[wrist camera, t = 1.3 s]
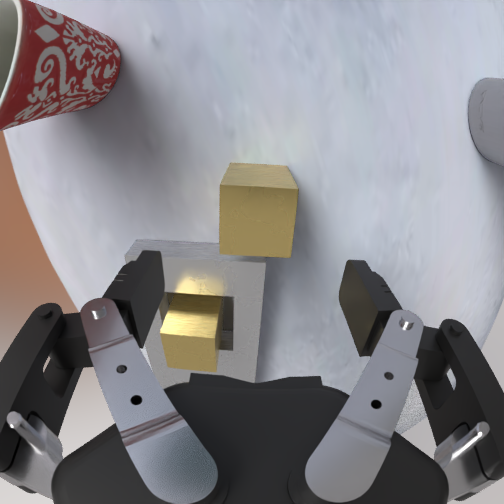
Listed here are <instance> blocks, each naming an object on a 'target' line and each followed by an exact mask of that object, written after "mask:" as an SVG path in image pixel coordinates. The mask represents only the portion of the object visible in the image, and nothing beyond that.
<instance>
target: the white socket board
mask: <svg viewBox="0 0 504 504" xmlns="http://www.w3.org/2000/svg"><path fill="white" fill-rule="evenodd" d="M143 250H155V251H160V252H161V255H162V263H163V271H164V279H165V291H164V295H163V298H162V300H161V303H160V305H159V308H158V310H157V313H156V315H155V318H154V320H153V323H152V325H151V328H150V331H149V333H148V336H147V338H146V341H145V347H146V350H147V354H148V357H149V360H150V364H151V367H152V370H153V373H154V375H155V377H156V379H157V380H158V382H159V384H160V385H161V387H162V389H164V388H167V387H169V386H172V385H175V384H179V383H184V382H189V379H190V374H191V373H200V374H213V375H224V376H228V377H231V378H235V379H239V380H243V381H247V382H252V383H255V376H256V366H257V356H258V346H259V336H260V325H261V314H262V304H263V292H264V281H265V270H266V257H263V256H243V255H223V254H220V251H219V244H218V243H197V242H176V241H153V240H136V241H135V242H134V244H133V245H132V246H131V247H130V249H129V250H128V251H127V253H126V254H125V261H126V264H127V263H129V262H130V261H131V260H132V261H136V259H137V258H138V256H139V255H140V253H141V252H142V251H143ZM167 292H174V293H187V294H201V295H216V296H233V297H234V326H233V331H230V330H222V335H221V343H220V350H219V358H218V366H217V372H205V371H195V370H185V369H177V368H169V367H168V366H167V362H166V358H165V354H164V350H163V345H162V341H161V336H160V331H161V328H162V325H163V323H164V320H165V317H166V315H167V312H168V309H169V301H168V294H167Z"/></svg>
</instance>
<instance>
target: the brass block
mask: <svg viewBox="0 0 504 504" xmlns="http://www.w3.org/2000/svg"><path fill="white" fill-rule="evenodd" d="M298 191H299V189H298V187H297V185H296V183H295V181H294V179H293V177H292V175H291V173H290V171H289V169H288V168H287V166H282V165H267V164H248V163H230V165H229V167H228V169H227V171H226V173H225V175H224V177H223V179H222V181H221V184H220V224H219V251H220V254H223V255H243V256H263V257H283V258H291V251H292V243H293V235H294V227H295V218H296V209H297V201H298Z"/></svg>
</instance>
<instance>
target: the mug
mask: <svg viewBox="0 0 504 504" xmlns="http://www.w3.org/2000/svg"><path fill="white" fill-rule="evenodd" d="M120 61H121V59H120V52H119V49H118V46H117V45H116V43H115V42H114V41H113V40H112V39H111V38H110V37H108V36H107V35H105V34H103V33H101V32H98V31H96V30H94V29H92V28H90V27H88V26H86V25H84V24H82V23H80V22H78V21H76V20H74V19H71V18H69V17H67V16H65V15H63V14H60V13H58V12H56V11H54V10H51V9H49V8H46V7H44V6H41V5H39V4H36V3H33V2H31V1H28V0H0V131H2V130H5V129H8V128H11V127H14V126H18V125H21V124H24V123H27V122H30V121H34V120H38V119H42V118H46V117H50V116H54V115H58V114H62V113H66V112H71V111H78V110H82V109H86V108H89V107H91V106H93V105H95V104H97V103H98V102H100V101H101V100H102V99H103V98H104V97H105V96H106V95H107V94H108V93H109V92H110V90H111V89H112V87H113V86H114V84H115V82H116V79H117V77H118V74H119V70H120Z"/></svg>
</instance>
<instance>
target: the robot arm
mask: <svg viewBox="0 0 504 504" xmlns="http://www.w3.org/2000/svg"><path fill="white" fill-rule="evenodd" d="M468 117H469V126H470V130H471V134H472V137H473V140H474V143H475V145H476V147H477V148H478V150H479V152H480V153H481V154H482V155H483V156H484V157H485V158H486V159H487V160H489V161H491V162H494V163H496V164H498V165H501V166H503V167H504V79H499V78H485V79H482V80H480V81H479V82H478V83H477V84H476V85H475V87H474V89H473V90H472V93H471V96H470V101H469V109H468ZM164 291H165V279H164V271H163V263H162V255H161V252H160V251H155V250H143V251H142V252H141V253H140V255H139V256H138V258H137V259H136V261H132V260H131V261H130V262H129V263H127V264H126V265H124V266H123V267H122V268H121V270H120V271H119V273H118V275H117V276H116V277H115V279H114V280H113V282H112V283H111V285H110V286H109V288H108V289H107V291H106V292H105V294H104V295H103V297H102V298H97V299H93V300H91V301H89V302H87V303H86V304H85V305H84V306H83V307H82V309H81V311H80V312H79V313H71V314H63V312H62V309H61V307H60V306H59V305H58V304H56V303H46V304H43V305H41V306H39V307H38V308H36V309H35V310H34V311H33V312H32V314H31V315H30V317H29V318H28V320H27V321H26V323H25V324H24V326H23V327H22V329H21V330H20V332H19V333H18V334H17V336H16V338H15V339H14V341H13V342H12V344H11V345H10V347H9V349H8V350H7V352H6V354H5V355H4V357H3V359H2V360H1V362H0V477H1V478H3V479H4V480H6V481H8V482H9V483H11V484H13V485H16V486H17V487H19V488H21V489H23V490H24V491H26V492H28V493H39V494H41V495H43V496H45V497H48V498H50V499H52V500H53V501H54V504H447V502H449V501H451V500H458V501H462V500H465V499H467V498H469V497H471V496H473V495H475V494H476V493H478V492H480V491H482V490H483V489H485V488H487V487H488V486H490V485H491V484H493V483H495V482H496V481H498V480H499V479H501V478H502V477H504V393H503V390H502V388H501V387H500V385H499V383H498V381H497V379H496V377H495V375H494V373H493V372H492V370H491V368H490V366H489V364H488V362H487V361H486V359H485V357H484V356H483V354H482V352H481V350H480V349H479V347H478V345H477V344H476V342H475V341H474V339H473V337H472V336H471V334H470V333H469V331H468V329H467V328H466V327H465V326H464V325H463V324H462V323H460V322H458V321H456V320H453V319H446V320H444V321H443V322H442V323H441V325H440V327H439V329H437V328H432V327H426V326H423V322H422V320H421V319H420V318H419V317H418V316H417V315H416V314H414V313H412V312H410V311H407V310H403V309H402V307H401V306H400V304H399V302H398V301H397V299H396V298H395V296H394V294H393V293H391V290H390V288H389V287H388V285H387V284H386V282H385V280H384V279H383V278H382V277H381V276H380V275H378V274H377V273H376V272H372V271H371V269H370V267H369V266H368V264H367V263H366V261H364V260H348V261H347V263H346V266H345V270H344V274H343V278H342V282H341V286H340V290H339V302H340V305H341V307H342V310H343V313H344V315H345V318H346V321H347V323H348V326H349V329H350V331H351V334H352V337H353V339H354V342H355V345H356V348H357V351H358V353H359V356H360V357H361V356H370V357H371V358H370V360H369V362H368V364H367V366H366V368H365V370H364V371H363V373H362V375H361V377H360V379H359V381H358V383H357V384H356V386H355V388H354V390H353V391H352V393H351V395H350V396H349V395H348V394H346V393H344V392H342V391H340V390H338V389H335V388H332V387H328V386H324V385H322V381H321V376H308V377H287V378H282V379H278V380H273V381H268V382H263V383H252V382H247V381H243V380H239V379H235V378H231V377H228V376H224V375H213V374H200V373H191V374H190V379H189V382H184V383H179V384H175V385H172V386H169V387H167V388H164V389H162V387H161V385H160V384H159V382H158V380H157V379H156V377H155V375H154V373H153V372H152V370H151V368H150V366H149V365H148V363H147V361H146V359H145V357H144V355H143V354H142V352H141V350H140V348H142V349H143V346H144V344H145V341H146V338H147V336H148V333H149V331H150V328H151V325H152V323H153V320H154V318H155V315H156V313H157V310H158V308H159V305H160V303H161V300H162V298H163V295H164ZM48 356H49V357H50V358H51V359H50V361H49V363H48V365H47V367H46V369H45V371H44V373H43V367H44V364H45V362H46V360H47V358H48ZM84 367H94V369H95V372H96V375H97V378H98V381H99V383H100V386H101V389H102V392H103V394H104V397H105V399H106V402H107V404H108V407H109V409H110V411H111V414H112V416H113V419H114V421H115V424H113V425H112V426H110V427H109V428H108V429H106V430H105V431H103V432H102V433H100V434H99V435H97V436H96V437H95V438H93V439H92V440H90V441H89V442H87V443H86V444H84V445H83V446H81V447H80V448H78V449H77V450H76V451H74V452H72V453H71V454H69V455H68V456H67V457H65V458H64V459H63V456H62V452H63V450H62V444H61V442H60V440H59V438H58V435H59V432H60V429H61V426H62V423H63V420H64V417H65V414H66V411H67V409H68V406H69V403H70V400H71V398H72V395H73V392H74V390H75V387H76V384H77V382H78V379H79V377H80V374H81V372H82V369H83V368H84ZM450 368H451V370H452V372H453V374H454V376H455V378H456V387H455V390H453V388H452V385H451V383H450V381H449V379H448V377H447V372H448V371H449V369H450ZM413 378H414V380H415V383H416V385H417V388H418V391H419V394H420V396H421V399H422V402H423V405H424V408H425V411H426V414H427V417H428V420H429V423H430V426H431V429H432V432H433V436H434V439H435V442H436V446H437V448H436V450H435V454H434V460H433V459H432V458H430V457H429V456H428V455H426V454H425V453H424V452H422V451H421V450H419V449H418V448H417V447H415V446H414V445H413V444H411V443H410V442H409V441H407V440H406V439H405V438H404V437H402V436H401V435H400V434H398V433H397V432H396V431H394V430H395V427H396V425H397V423H398V420H399V417H400V415H401V412H402V410H403V407H404V404H405V401H406V399H407V396H408V393H409V390H410V387H411V384H412V381H413Z"/></svg>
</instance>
